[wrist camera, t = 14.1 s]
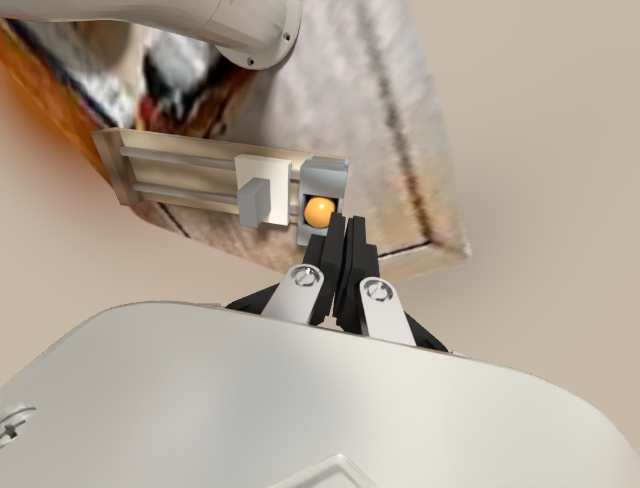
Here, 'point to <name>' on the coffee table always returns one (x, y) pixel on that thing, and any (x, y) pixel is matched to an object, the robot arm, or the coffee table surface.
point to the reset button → (319, 210)
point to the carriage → (263, 190)
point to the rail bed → (210, 172)
